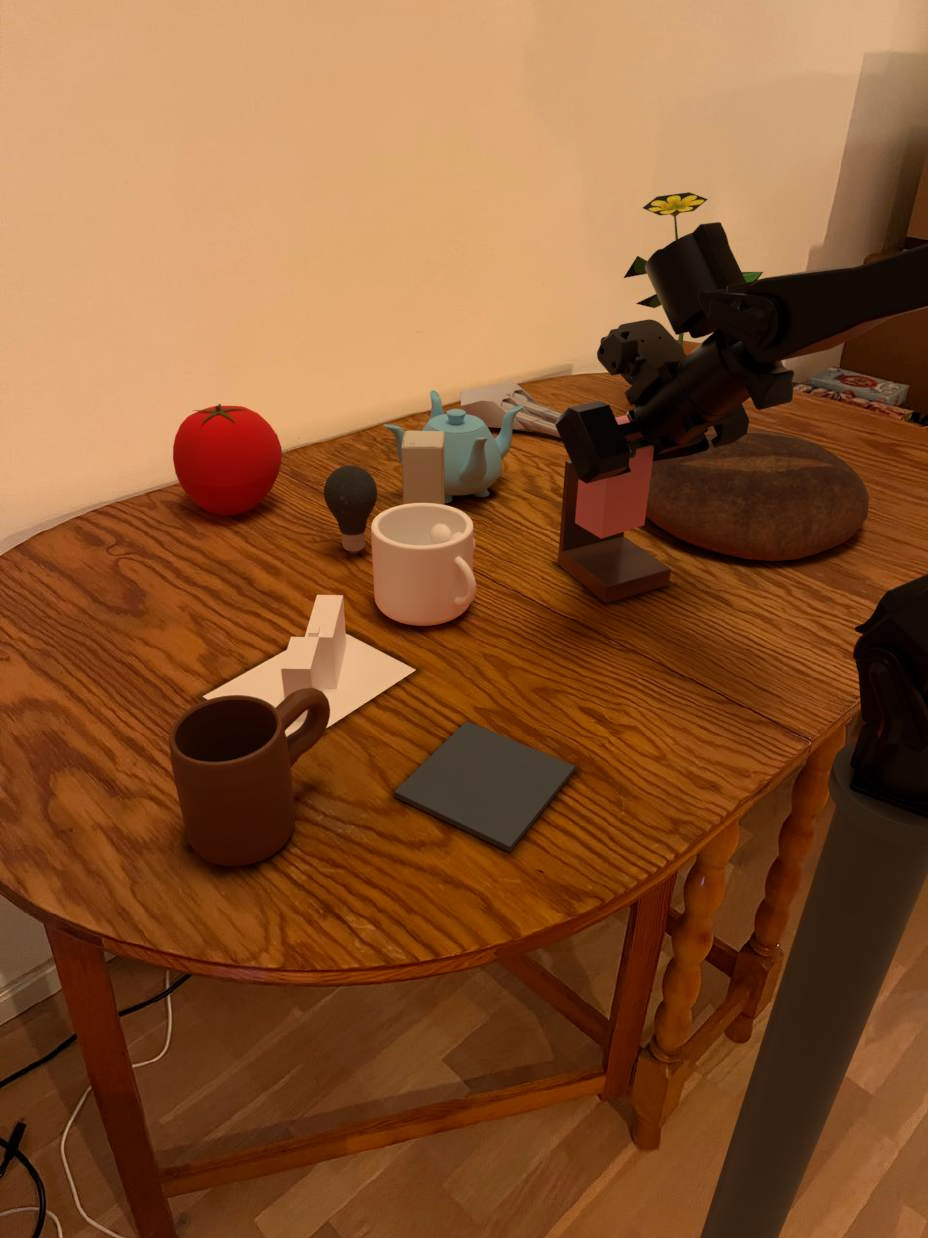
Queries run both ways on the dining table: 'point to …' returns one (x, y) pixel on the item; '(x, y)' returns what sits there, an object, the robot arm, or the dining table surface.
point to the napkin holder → (321, 667)
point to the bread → (758, 497)
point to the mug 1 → (242, 772)
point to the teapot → (466, 448)
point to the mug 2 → (423, 563)
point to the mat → (486, 784)
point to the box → (423, 467)
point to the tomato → (226, 458)
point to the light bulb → (351, 503)
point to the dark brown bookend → (604, 555)
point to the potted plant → (674, 207)
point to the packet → (616, 497)
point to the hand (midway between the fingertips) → (605, 465)
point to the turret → (508, 407)
